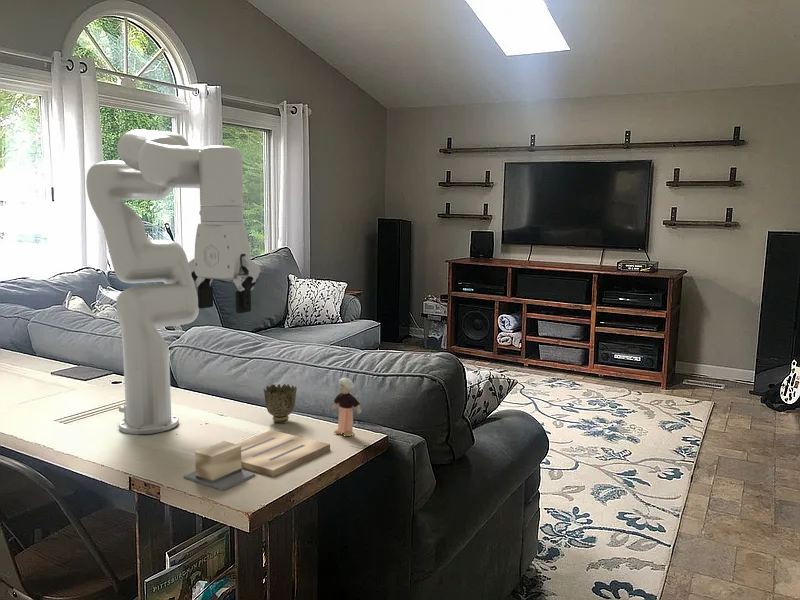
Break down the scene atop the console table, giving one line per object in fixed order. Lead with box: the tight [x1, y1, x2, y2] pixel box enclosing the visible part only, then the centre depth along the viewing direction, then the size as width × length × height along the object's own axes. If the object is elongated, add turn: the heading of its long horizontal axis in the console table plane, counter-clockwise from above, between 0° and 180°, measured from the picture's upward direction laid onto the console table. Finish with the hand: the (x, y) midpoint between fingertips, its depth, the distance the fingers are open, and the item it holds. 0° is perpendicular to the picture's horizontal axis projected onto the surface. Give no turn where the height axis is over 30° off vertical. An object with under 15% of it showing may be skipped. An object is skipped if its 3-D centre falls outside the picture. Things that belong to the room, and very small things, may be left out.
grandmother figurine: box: [332, 377, 362, 437], centre depth 151 cm, size 8×4×13 cm, turn 66°
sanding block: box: [194, 440, 243, 484], centre depth 127 cm, size 4×7×5 cm, turn 148°
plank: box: [236, 429, 331, 477], centre depth 139 cm, size 16×17×1 cm
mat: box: [183, 469, 256, 491], centre depth 128 cm, size 10×8×1 cm
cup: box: [263, 383, 297, 424], centre depth 160 cm, size 8×7×8 cm
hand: (224, 309), depth 128 cm, fingers open, 9 cm apart
